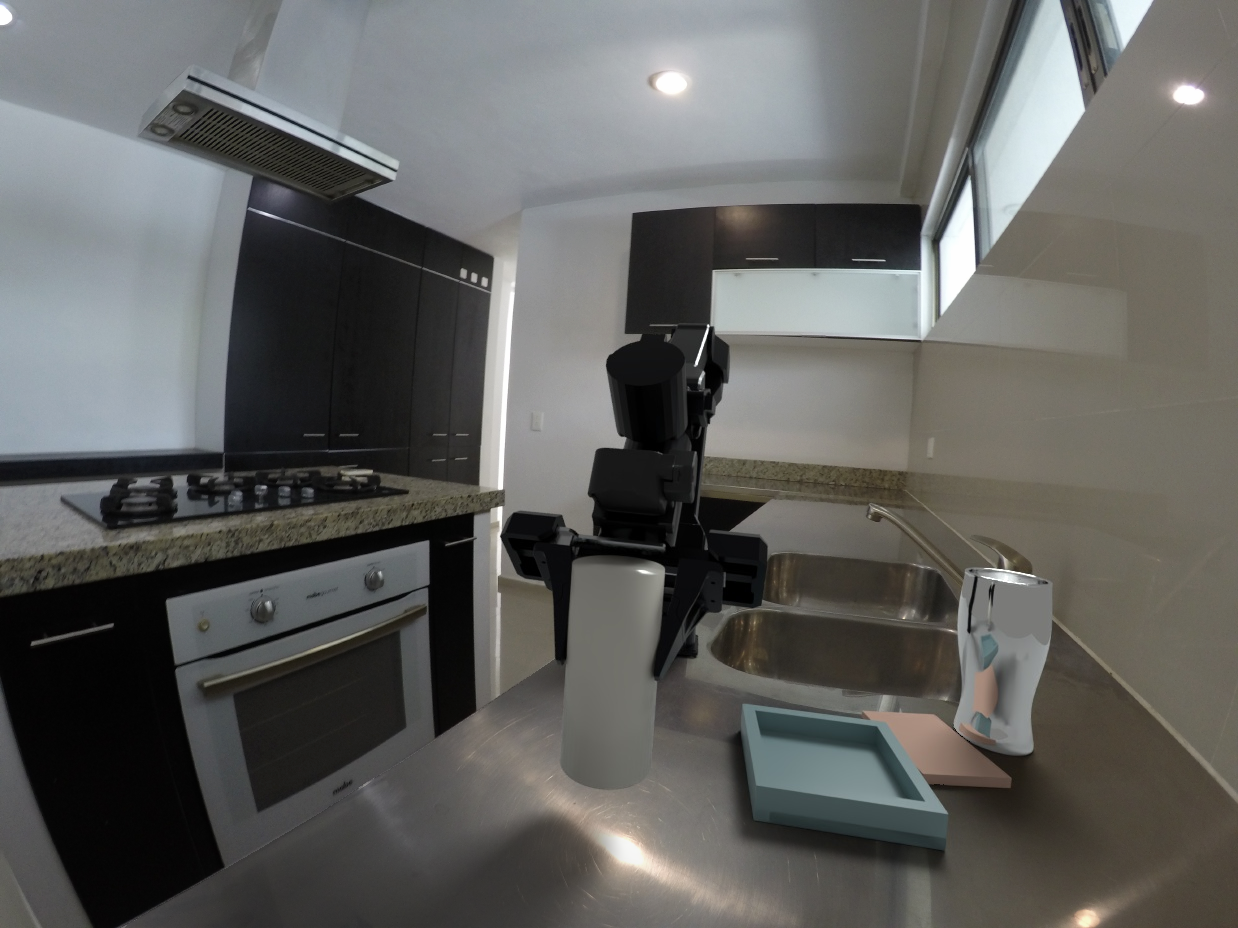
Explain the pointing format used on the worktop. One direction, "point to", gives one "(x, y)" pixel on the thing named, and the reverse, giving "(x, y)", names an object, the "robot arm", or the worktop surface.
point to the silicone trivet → (941, 751)
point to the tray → (837, 777)
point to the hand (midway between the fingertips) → (606, 670)
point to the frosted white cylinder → (611, 670)
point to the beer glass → (1001, 656)
